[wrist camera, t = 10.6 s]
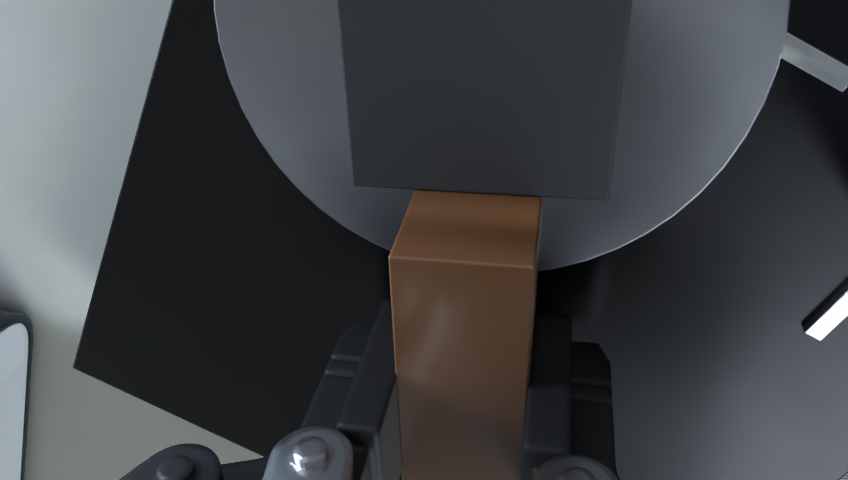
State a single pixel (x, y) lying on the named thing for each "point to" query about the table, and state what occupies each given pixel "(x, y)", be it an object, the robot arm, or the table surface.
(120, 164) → the table surface
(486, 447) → the spatula
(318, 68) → the burner
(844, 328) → the hob
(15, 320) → the laminator
